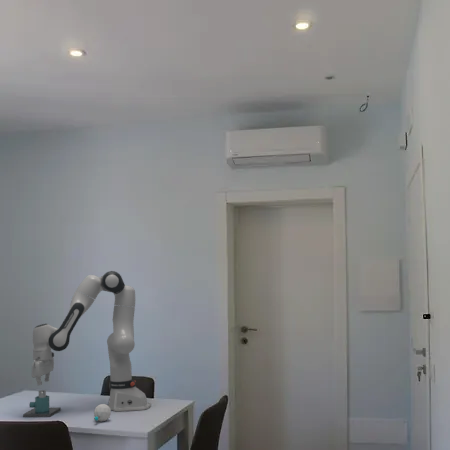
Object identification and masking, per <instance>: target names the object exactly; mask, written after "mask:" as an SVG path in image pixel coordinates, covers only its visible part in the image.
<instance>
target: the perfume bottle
mask: <svg viewBox="0 0 450 450" xmlns="http://www.w3.org/2000/svg"><path fill="white" fill-rule="evenodd" d="M108 405H109V404H108ZM108 405H107V404H105V403H101V404H99V405H97V406H96V407H95V408H94V412H93V420H94V421H95V422H97V421H98V422H100V423H101V422H102V421H103V422H106V421H107V420H109V419H110V418H111V415H112V410H111V409H110V408H109V406H108Z"/></svg>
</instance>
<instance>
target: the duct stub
mask: <svg viewBox="0 0 450 450" xmlns="http://www.w3.org/2000/svg"><path fill="white" fill-rule="evenodd" d="M46 395H47V390H46V389H39V390H38V396H39V398H44V397H46ZM61 410H62V409H61V407H49V411H46V412H35V408H31V410H28V411H27V412H24V413H23V415H22V417H23V418H50V417H52V416H54V415H56V414H57V413H60V411H61Z"/></svg>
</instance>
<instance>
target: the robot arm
mask: <svg viewBox="0 0 450 450" xmlns="http://www.w3.org/2000/svg"><path fill="white" fill-rule="evenodd" d="M102 291H104V292H109V293H113V295H114V304H113V312H112V329H113V332H112V333H111V334H109V336H108V337H107V340H106V343H107V352H108V360H109V369H110V370H109V371H110V374H109V375H110V378H109V379H110V380H109V385H108V386H109V387H108V388H109V389H108V390H109V400H108V406H109V408H110V409H111V411H114V412H129V411H131V412H132V411H145V410H147V409H150V408H151V407H152V403H151V402H148V400H147V399H148V398H147V396H146V393H145V392H143V391H142V390H141V389H140V388H138V387H137V386H136V382H137V381H136V380H134V379H133V378H132V362H131V356H130V353H131V352H132V351H133V350H134V349H135V345H136V344H135V329H134V328H135V327H134V319H135V310H136V309H135V308H136V291H135V288H134V287H133V286H131V285H126V284H125V282H124V280H123V277H122V275H121V274H120V273H119V272H117V271H115V270H110V271H107V272H105V273H104V274H103V275H102V276H97V275H94V274H88V275H87V276H86V277H84V278H83V280H82V281H81V282H80V284H79V285H78V286H77V288H76V289H75V291H74V293H73V296H72V298H71V300H70V304H69V305H70V306H69V309H68V312H67V315H66V316H65V318H64V320H63V321H62V323H61V324H60V326H59V327H58V328H57V327H55V326H52V325H50V324H49V323H41V324H39V325H36V326H35V327H34V328H33V330H32V345H33V349H32V354H33V355H32V356H33V357H32V358H33V359H32V360H33V362H31V377H32V378H35V380H36V382H37V383H36V384H37V386H41V385H42V384H43V381H42V380H41V379H42V376H45V377H44V382H45V383H47V382H49V381H50V375H51V372H53V371H54V369H55V368H54V364H55V362H54V361H55V359H54V357H55V353H54V351H55V352H62V351H64V350H66V349H67V347H68V346H69V344H70V338H71V335H72V333H73V330H74V328H75V327H76V325H77V323H78V322H79V320H80V319H81V317H82V316H83V315H84V314H85V313H86V312H87V311H88V310H89V309H90V307H92V305H93V303H95V300H96V299H97V297H98V295H99V294H100V293H101V292H102ZM52 350H53V351H52Z"/></svg>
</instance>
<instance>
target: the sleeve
mask: <svg viewBox="0 0 450 450" xmlns="http://www.w3.org/2000/svg"><path fill="white" fill-rule="evenodd" d="M28 404H29V408H30V409H33V408H35V412H46V411H49V408H50V395H47V394H46V397H44V398H39V395H37V396H35V397H34V401H30V402H29V403H28Z"/></svg>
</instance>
